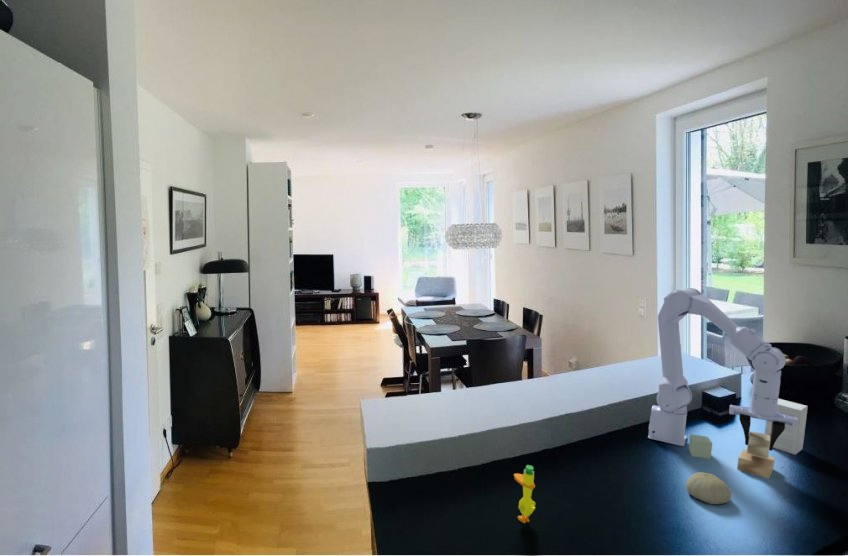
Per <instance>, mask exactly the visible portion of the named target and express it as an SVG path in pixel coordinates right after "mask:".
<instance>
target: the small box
mask: <svg viewBox="0 0 848 556" xmlns="http://www.w3.org/2000/svg"><path fill="white" fill-rule="evenodd" d="M808 407H809V406H808V405H804V404H802V403H798V402H794V401H789V400H785V399H782V398H778V403H777V411H776V412H777V413H780V414H784V415H787V416H791V417H796V418H797V427H792V426H791V425H786V424H785V429H784V431H783V432H782V433H781V434H780V436H779V437H778V438H777V440H776V442H775V444H774V446H773V448H774V449H776V450H779V451H783V452H786V453H787V454H788V453H789V454H792V455H794V456H795V455H797V454H798V453H800V452H801V451H802V450H803V445H804V440H805V432H806V431H805V430H806V424H807V414H808ZM771 428H772V422H771V421H766V420H765V428H764V434H766V435H770V436H771ZM773 448H772V449H773Z"/></svg>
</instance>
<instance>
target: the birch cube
mask: <svg viewBox="0 0 848 556" xmlns="http://www.w3.org/2000/svg"><path fill="white" fill-rule="evenodd" d="M769 448H770V435H766V434H765V433H762V432H761V433H760V432H757V431H756V432H755V431H753V430H752V431H751V430H749V442H748V445H747V449H746V450H747V453H748V454H752V455H756V456H760V457H764V458H768V456H770V455H769V454H770V450H769Z"/></svg>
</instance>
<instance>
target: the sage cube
mask: <svg viewBox="0 0 848 556" xmlns="http://www.w3.org/2000/svg"><path fill="white" fill-rule="evenodd" d="M712 449H713V442H712V441H711V439H710V437H709V436H705V435H701V434H700V435H698V434H691V433H690V435H689V444H688V451H689V453H690V455H691V457H695V458H700V459H708V460H711V459H712V451H713V450H712Z"/></svg>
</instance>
